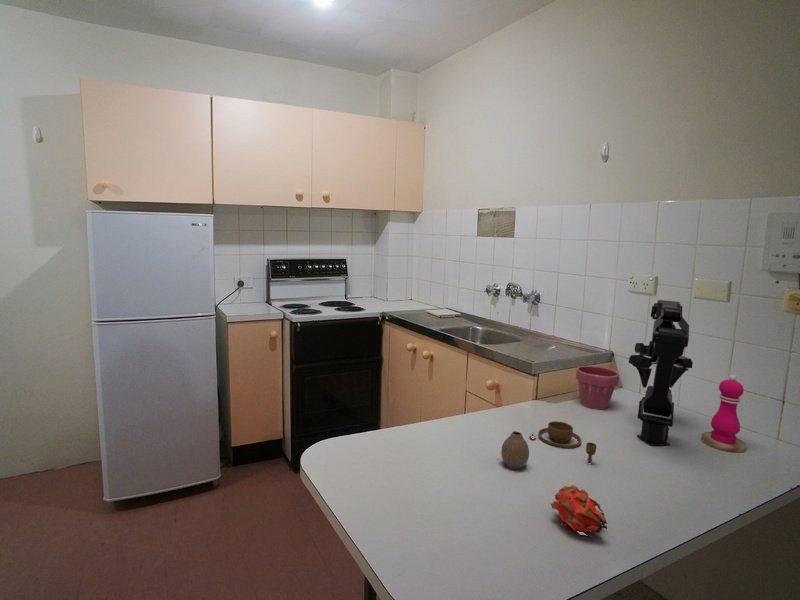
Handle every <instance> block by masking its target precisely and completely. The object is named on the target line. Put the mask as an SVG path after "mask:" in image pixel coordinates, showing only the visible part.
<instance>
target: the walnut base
mask: <svg viewBox="0 0 800 600" xmlns="http://www.w3.org/2000/svg"><path fill="white" fill-rule="evenodd" d="M711 432H712V431H705V432H702V433H701V435H700V436H701V437H700V438H701V439H700V440H701V442H702V443H703V444H705V445H706V446H708V447H711V448H713V449H716V450H720V451H723V452H728V453H733V454H734V453H735V454H737V453H738V454H739V453H745V451H746V447H747V446H746V445H747V444H746V442H744V440H741V438H740V439H739V438H737V439H736V443H735V444H725V443H721V442H718V441H716V440H714V439H712V438H711Z"/></svg>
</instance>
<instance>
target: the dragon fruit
mask: <svg viewBox="0 0 800 600" xmlns="http://www.w3.org/2000/svg"><path fill="white" fill-rule="evenodd" d="M554 499H555V501H553V502H552V503H550V505H551V509H553V510H556V511H558V515H559V517H558V519H559V522H560V525H561V527H566V526H567V525H568V526H569V527H570V528H571V529H572V530H573V531H574V532H575V533H577V532H576V531H579V532H584V533H585V534H586V535H588V536H590V535H589V534H588V533H590V532H592V533H598V534H601V532H602V531H603V529H606V530H608V526H607V524H610V523H608V521H607V520H606V517H605V513H604V511H603V509H601V505H600V504H599V503H598V502H597V501H595V500H594V499H593V498H591V497H589V493H588V492H587V491H586V490H585V489H583V488H582V489H579V487H578V486H576V485H570V486H567V485H565V486H563V487H562V488H560V489H559V490H558V492H557V493H555V494H554ZM596 506H597V508H598V509H597V508H596Z"/></svg>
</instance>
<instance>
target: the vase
mask: <svg viewBox="0 0 800 600" xmlns="http://www.w3.org/2000/svg"><path fill="white" fill-rule="evenodd" d="M500 451H501V452H500V454H501V455H500V456H501V459H502V462H503V463H504V465H505V466H507V467H508V468H509V467H510V468H509V469H512V468H514V469H513V470H519V469H521V468H523V467H525V466H526V465H527V463H528V460H529V459H530V449H529V445H528V443H527V442H526V440H525V438H524V437H523V434H522V432H520V431H516V430H514V431H512V432H511V433H510V434H509V436H508V437H506V438H505V440H504V441H503V443H502V446H501V450H500Z"/></svg>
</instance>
